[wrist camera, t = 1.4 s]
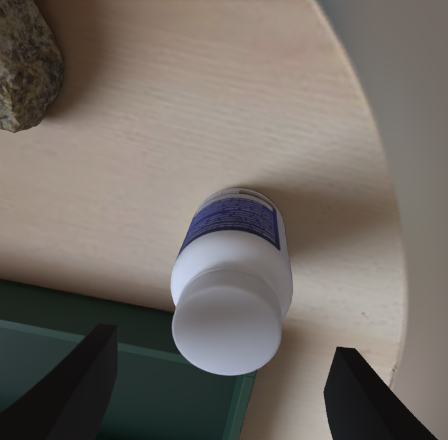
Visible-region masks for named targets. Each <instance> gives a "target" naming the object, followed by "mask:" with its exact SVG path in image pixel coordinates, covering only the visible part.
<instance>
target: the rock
mask: <svg viewBox="0 0 448 440" xmlns="http://www.w3.org/2000/svg"><path fill="white" fill-rule="evenodd" d="M63 70H64V64H63V60H62V57H61V54H60V51H59V49H58V48H57V47H56V41H55V38H54V35H53V33H52V31H51V30H50V28H49V27H48V25H47V23H46V22H45V20H44V18H43V16H42V14H41V12H40V10H39V9H38V7H37V5H36V4H35V3H34V1H33V0H0V129H3V130H7V131H11V132H13V133H15V132H18V131H21V130H27V129H30V128H31V127H33V126H34V127H35V126H37V125H38V124H39V123H40V122H41V121H42V119H43V118H44V115H45V108H46V106H47V105H48V104H49V103H50V102H51V101H53V100H54V99H55V98H56V96H57V94H58V92H59V89H60V87H61V86H62V81H63Z"/></svg>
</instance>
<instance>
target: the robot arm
mask: <svg viewBox="0 0 448 440" xmlns="http://www.w3.org/2000/svg"><path fill="white" fill-rule="evenodd" d="M117 373H118V342H117V325H110V324H100V323H98V324H97V325H96V326H95V327H94V328H93V329H92V330H91V331H90V332H89V333H88V334H87V335H86V336H85V337H84V338H83V339H82V340H81V341H80V342H79V343H78V344H77V345H76V347H75V348H74V349H73V350H72V351H71V352H70V353H69V354H68V355H67V356H65V357H64V358H63V359H62V360H61V361H60V362H59V363H58V364H57V365H56V366H55V367H54V368H53V369H52V370H51V371H50V372H49V373H48V374H46V375H45V376H44V377H43V378H42V379H41V380H40V381H38V382H37V383H36V384H35V385H34V386H33V387H32V388H30V389H29V390H28V391H27V392H26V393H25V394H23V395H22V396H21V397H20V398H18V399H17V400H16V401H15V402H14V403H12V404H11V405H10V406H8V407H7V408H6V409H4V410H3V411H2V412H1V413H0V440H95V438H96V435H97V433H98V430H99V428H100V425H101V423H102V420H103V418H104V415H105V413H106V410H107V408H108V405H109V402H110V399H111V395H112V392H113V388H114V384H115V381H116V377H117ZM324 399H325V405H326V412H327V417H328V423H329V427H330V431H331V434H332V438H333V440H438V439H437V438H436V437H435V436H434V435H433V434H431V432H429V430H428V429H427V428H426V427H425V426H424V425H423V424H422V423H421V422H420V421H419V420H418V419H417V418H416V417H415V416H414V415H413V414H412V413H411V412H410V411H409V410H408V409H407V408H406V406H405V405H404V404H403V403H402V402H401V401H400V400H399V399H398V398H397V397H396V395H395V394H394V393H393V392H392V391H391V390H390V389H389V387H388V386H387V385H386V384H385V383H384V382H383V380H382V379H381V378H380V377H379V376H378V375H377V373H376V372H375V371H374V370H373V369H372V368H371V366H370V365H369V364H368V363H367V362H366V360H365V359H364V358H363V357H362V356H361V354H360V353H359V352H358V351H357V350H356V349H355V348H345V347H337V348H336V352H335V355H334V358H333V362H332V365H331V368H330V372H329V375H328V378H327V382H326V385H325V388H324Z"/></svg>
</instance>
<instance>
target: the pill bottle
mask: <svg viewBox="0 0 448 440" xmlns="http://www.w3.org/2000/svg"><path fill="white" fill-rule="evenodd" d="M171 293H172V298H173V301H174V304H175V306H176V309H175V313H174V316H173V321H172V334H173V338H174V341H175V344H176V346H177V348H178V349H179V351H180V352H181V354H182V355H183V356H184V357H185V358H186V359H187V360H188V361H190V362H191V363H192V364H193V365H195V366H197V367H199V368H200V369H202V370H205V371H208V372H210V373H214V374H219V375H241V374H245V373H249V372H252V371H255V370H257V369H259V368H261V367H262V366H264V365H265V364H266V363H268V362H269V361H270V360H271V359H272V357H273V356H274V355H275V354H276V352H277V350H278V348H279V345H280V342H281V337H282V319H283V318H284V316H285V315H286V313H287V311H288V309H289V307H290V304H291V300H292V295H293V282H292V273H291V267H290V261H289V255H288V248H287V241H286V233H285V227H284V222H283V219H282V216H281V214H280V212H279V210H278V209H277V207H276V206H275V205H274V204H273V203H272V202H271V201H270V200H269V199H268V198H266V197H265V196H264V195H262V194H260V193H258V192H255V191H253V190H249V189H243V188H231V189H226V190H222V191H219V192H217V193H215V194H213V195H211V196H210V197H208V198H207V199H206V200H205V201H204V202H203V203H202V204H201V205H200V206H199V208H198V209H197V211H196V213H195V215H194V217H193V220H192V222H191V225H190V227H189V230H188V232H187V235H186V237H185V240H184V242H183V244H182V247H181V249H180V252H179V254H178V257H177V259H176V262H175V264H174V267H173V271H172V275H171Z"/></svg>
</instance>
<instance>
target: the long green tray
mask: <svg viewBox="0 0 448 440" xmlns="http://www.w3.org/2000/svg"><path fill="white" fill-rule="evenodd" d="M173 316H174V313H172V312H167V311H162V310H156V309H151V308H146V307H141V306H136V305H131V304H125V303H120V302H115V301H110V300H105V299H100V298H95V297H89V296H84V295H79V294H74V293H69V292H64V291H58V290H53V289H48V288H43V287H38V286H33V285H28V284H22V283H17V282H12V281H7V280H2V279H0V413H1V412H2V411H3V410H4V409H6V408H7V407H8V406H10V405H11V404H12V403H14V402H15V401H16V400H17V399H18V398H20V397H21V396H22V395H23V394H25V393H26V392H27V391H28V390H29V389H30V388H32V387H33V386H34V385H35V384H36V383H37V382H38V381H40V380H41V379H42V378H43V377H44V376H45V375H46V374H48V373H49V372H50V371H51V370H52V369H53V368H54V367H55V366H56V365H57V364H58V363H59V362H60V361H61V360H62V359H63V358H64V357H65V356H67V355H68V354H69V353H70V352H71V351H72V350H73V349H74V348H75V347H76V345H77V344H78V343H79V342H80V341H81V340H82V339H83V338H84V337H85V336H86V335H87V334H88V333H89V332H90V331H91V330H92V329H93V328H94V327H95V326H96V325H97V324H98V323H100V324H110V325H117V342H118V373H117V377H116V381H115V384H114V388H113V392H112V395H111V399H110V402H109V405H108V408H107V410H106V413H105V415H104V418H103V420H102V423H101V425H100V428H99V430H98V433H97V435H96V438H95V440H238V439H239V435H240V432H241V428H242V424H243V420H244V417H245V413H246V409H247V405H248V402H249V398H250V394H251V390H252V387H253V383H254V379H255V376H256V372H257V370H255V371H252V372H249V373H245V374H241V375H219V374H214V373H210V372H208V371H205V370H202V369H200V368H199V367H197V366H195V365H193V364H192V363H191V362H190V361H188V360H187V359H186V358H185V357H184V356H183V355H182V354H181V352H180V351H179V349H178V348H177V346H176V344H175V341H174V338H173V334H172V321H173Z"/></svg>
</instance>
